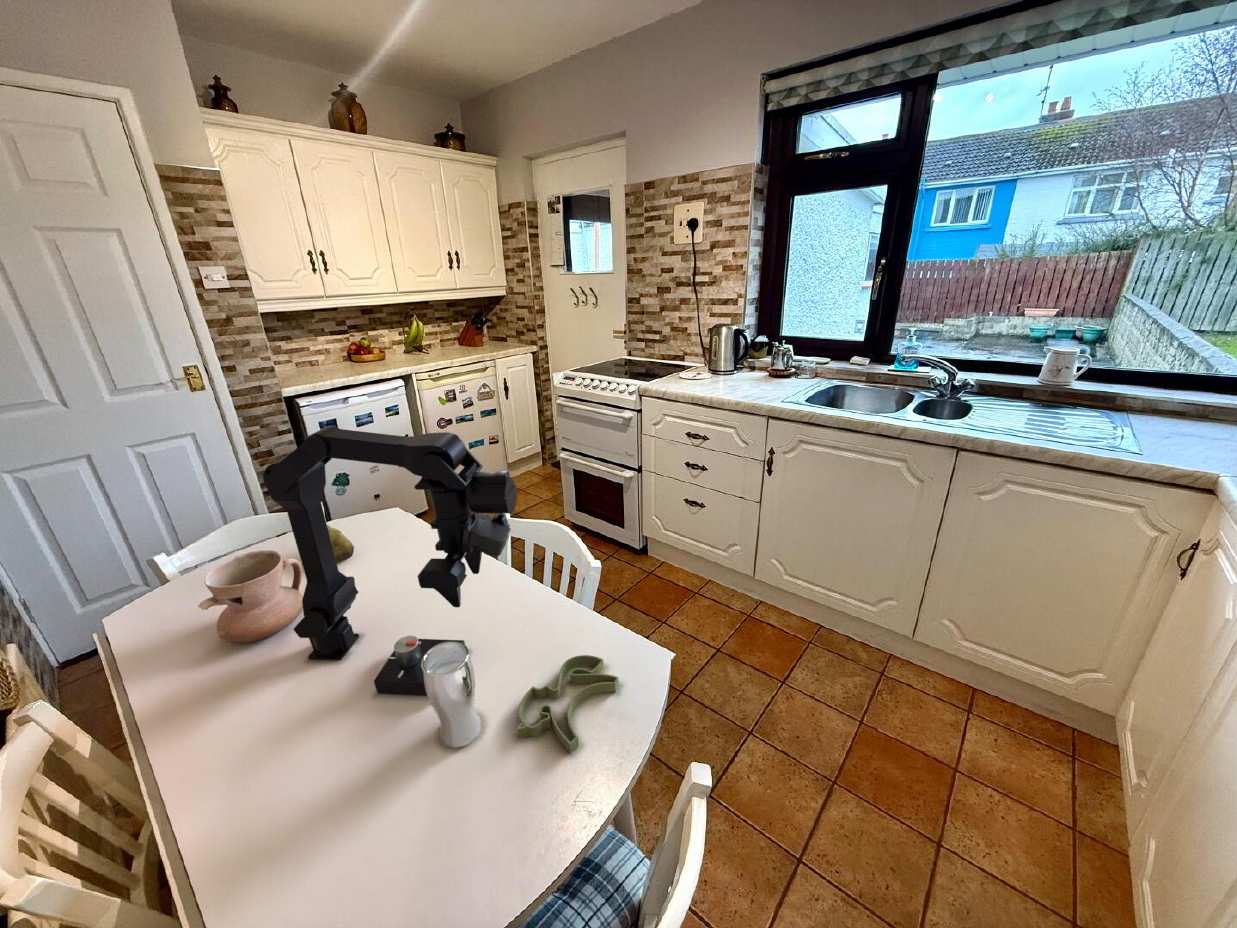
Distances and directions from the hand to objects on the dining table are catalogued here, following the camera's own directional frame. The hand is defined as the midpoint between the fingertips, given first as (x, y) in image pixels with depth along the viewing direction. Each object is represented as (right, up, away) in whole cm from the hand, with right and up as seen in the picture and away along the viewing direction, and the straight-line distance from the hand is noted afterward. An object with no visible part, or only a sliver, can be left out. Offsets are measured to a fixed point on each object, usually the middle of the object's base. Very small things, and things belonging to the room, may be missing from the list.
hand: (467, 589), depth 85 cm
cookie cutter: (+18, -18, -5) cm, 26 cm away
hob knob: (-10, -13, +1) cm, 16 cm away
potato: (-46, -2, +37) cm, 59 cm away
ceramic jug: (-45, -11, +15) cm, 49 cm away
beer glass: (+2, -20, -9) cm, 22 cm away
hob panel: (-8, -15, +2) cm, 18 cm away
